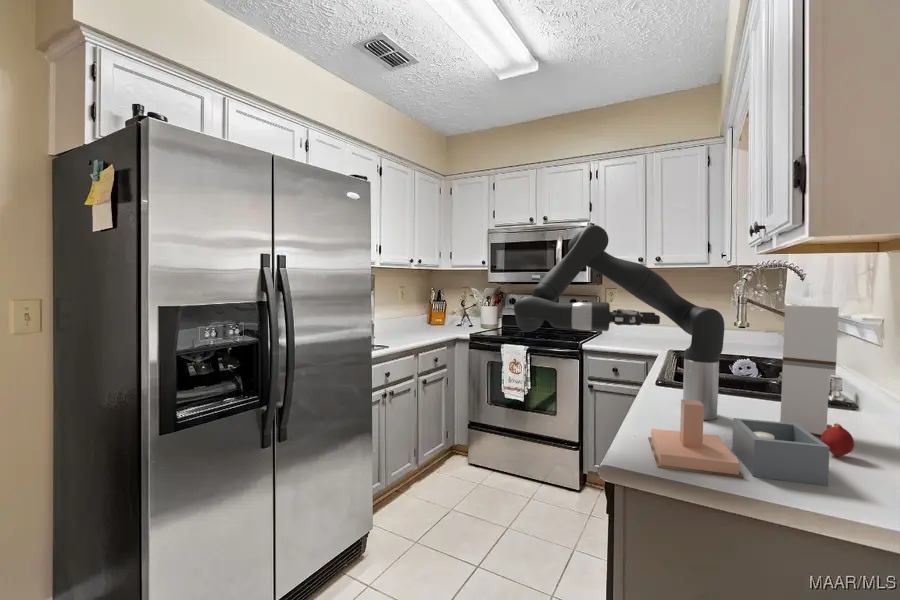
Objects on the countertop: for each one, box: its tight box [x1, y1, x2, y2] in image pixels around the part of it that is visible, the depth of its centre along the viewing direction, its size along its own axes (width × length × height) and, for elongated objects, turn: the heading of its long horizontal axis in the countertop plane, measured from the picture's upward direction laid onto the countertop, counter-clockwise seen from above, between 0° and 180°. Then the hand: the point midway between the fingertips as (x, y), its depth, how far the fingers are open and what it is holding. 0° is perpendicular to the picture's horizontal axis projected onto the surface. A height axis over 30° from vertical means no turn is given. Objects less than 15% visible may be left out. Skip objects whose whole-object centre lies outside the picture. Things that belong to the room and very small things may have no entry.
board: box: [647, 436, 744, 479], centre depth 103 cm, size 18×16×1 cm
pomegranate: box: [821, 422, 855, 458], centre depth 103 cm, size 6×6×8 cm
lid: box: [650, 399, 740, 475], centre depth 103 cm, size 17×15×12 cm
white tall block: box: [779, 303, 840, 441], centre depth 117 cm, size 11×11×35 cm
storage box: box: [731, 417, 830, 486], centre depth 98 cm, size 15×13×8 cm
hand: (657, 318), depth 110 cm, fingers open, 8 cm apart
